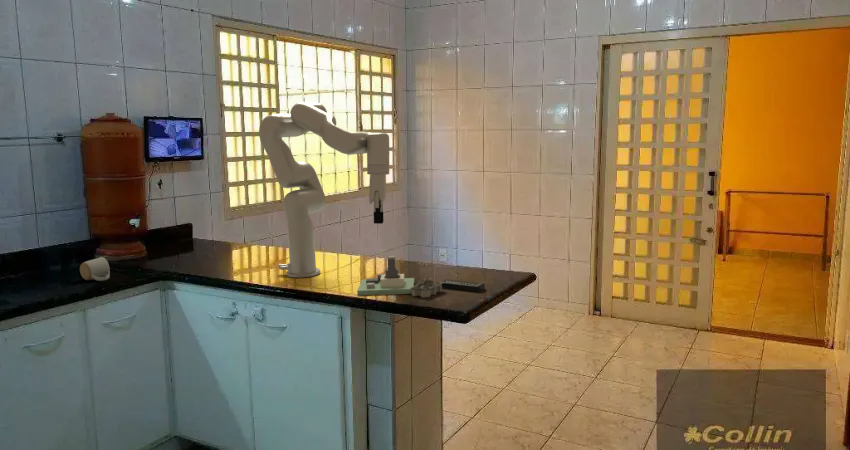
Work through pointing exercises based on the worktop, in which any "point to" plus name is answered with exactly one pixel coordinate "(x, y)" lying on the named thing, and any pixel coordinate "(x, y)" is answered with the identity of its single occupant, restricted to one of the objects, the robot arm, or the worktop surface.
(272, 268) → the worktop surface
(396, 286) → the board
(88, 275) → the ceramic mug
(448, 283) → the multiport hub
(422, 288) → the egg carton
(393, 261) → the plug
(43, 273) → the worktop surface
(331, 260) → the worktop surface
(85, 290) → the worktop surface
